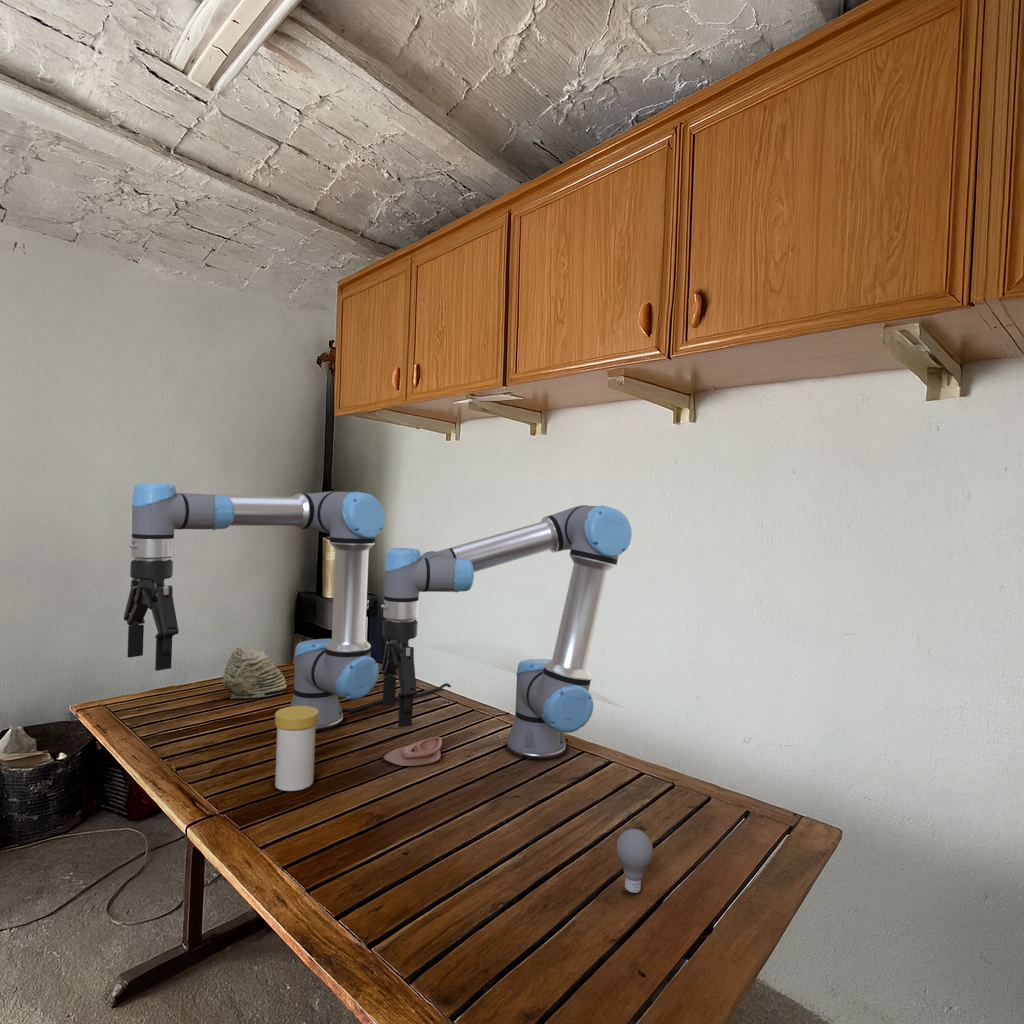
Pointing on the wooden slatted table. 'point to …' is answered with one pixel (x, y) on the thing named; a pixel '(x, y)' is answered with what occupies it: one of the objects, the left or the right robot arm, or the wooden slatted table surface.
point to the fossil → (252, 674)
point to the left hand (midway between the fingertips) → (148, 662)
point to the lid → (296, 717)
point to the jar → (295, 758)
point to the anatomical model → (416, 753)
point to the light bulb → (634, 857)
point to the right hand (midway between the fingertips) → (396, 715)
